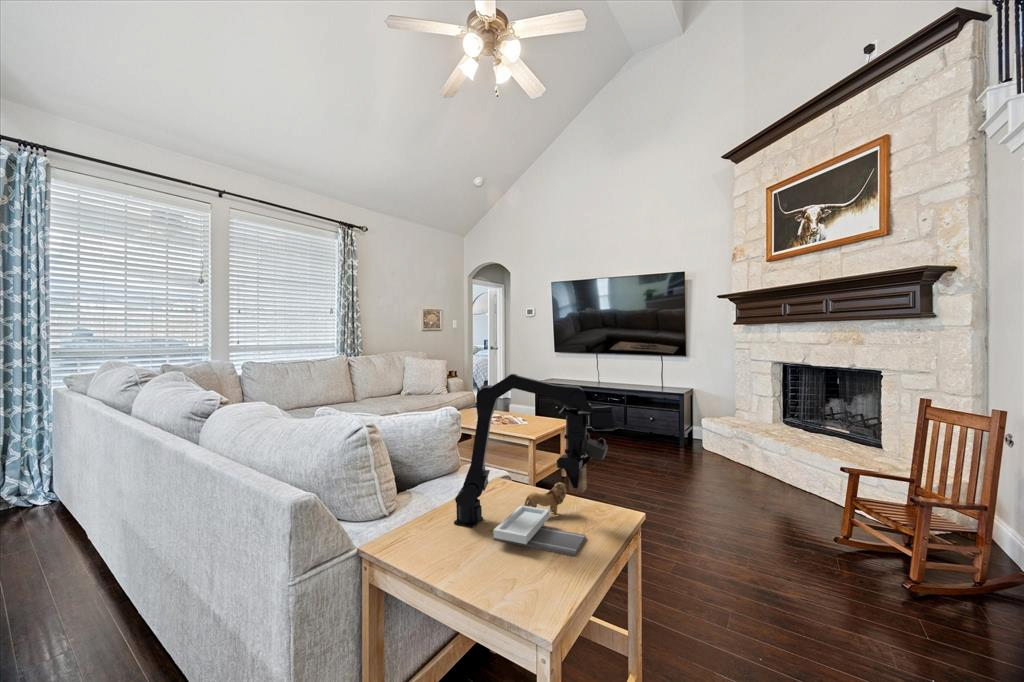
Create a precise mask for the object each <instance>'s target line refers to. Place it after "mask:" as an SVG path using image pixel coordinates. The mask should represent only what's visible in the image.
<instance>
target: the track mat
mask: <svg viewBox="0 0 1024 682" xmlns="http://www.w3.org/2000/svg"><path fill="white" fill-rule="evenodd" d="M586 538H587V536H586V534H582V533H577V532H570V531H566V530H559V529H553V528H550V527H544V526H543V527H541V528H540V529H539V530H538V531H537V532H536V533H535V535H534V536H533V537H532V539H531V541H530V542H529V543H527V544H522V543H517V542H513V541H508V540H503V539H498V538H494V537H493V540H495V541H498V542H504V543H509V544H512V545H513V544H514V545H518V546H524V547H528V548H533V549H538V550H542V551H548V552H553V553H556V554H557V553H558V554H561V555H567V556H570V557H571V556H572V557H576V555H577V553H578V552H579V550H580V549H581V547H582V545H583V543H584V541H585V540H586Z"/></svg>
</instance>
